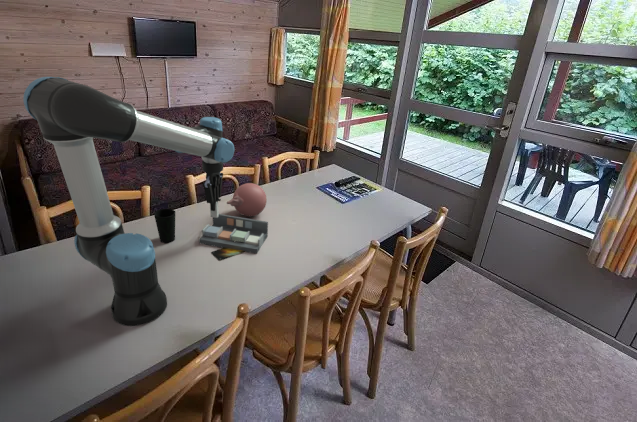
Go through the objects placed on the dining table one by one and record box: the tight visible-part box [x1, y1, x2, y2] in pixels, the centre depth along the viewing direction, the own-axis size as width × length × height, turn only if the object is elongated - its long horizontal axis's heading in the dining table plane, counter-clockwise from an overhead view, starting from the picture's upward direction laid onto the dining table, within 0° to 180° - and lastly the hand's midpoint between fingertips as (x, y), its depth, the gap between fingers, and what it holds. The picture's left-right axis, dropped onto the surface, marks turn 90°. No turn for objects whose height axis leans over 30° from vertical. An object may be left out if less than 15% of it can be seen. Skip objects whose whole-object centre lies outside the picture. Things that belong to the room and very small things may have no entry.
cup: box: [153, 208, 176, 244], centre depth 143 cm, size 8×8×12 cm
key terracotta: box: [218, 231, 232, 240], centre depth 148 cm, size 5×5×2 cm
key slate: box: [204, 225, 220, 238], centre depth 148 cm, size 5×5×2 cm
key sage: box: [232, 230, 247, 242], centre depth 147 cm, size 5×5×2 cm
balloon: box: [226, 182, 267, 217], centre depth 166 cm, size 15×20×15 cm
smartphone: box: [210, 242, 247, 262], centre depth 142 cm, size 7×1×15 cm
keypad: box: [198, 213, 269, 254], centre depth 148 cm, size 14×24×7 cm, turn 81°
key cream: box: [246, 235, 260, 245], centre depth 147 cm, size 5×5×2 cm
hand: (214, 216), depth 145 cm, fingers closed
